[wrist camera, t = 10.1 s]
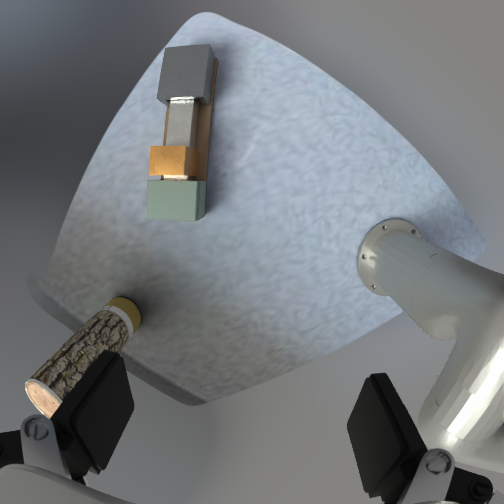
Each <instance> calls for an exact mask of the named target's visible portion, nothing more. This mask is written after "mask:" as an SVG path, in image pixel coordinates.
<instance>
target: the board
mask: <svg viewBox="0 0 504 504" xmlns="http://www.w3.org/2000/svg"><path fill="white" fill-rule="evenodd" d="M217 64H218V60H217V58H215V65H214V73H213V81H212V90H211V99H210V106H204V105H203V104H202V103H201V101H199V110H198V120H197V130H196V142H195V150H197V151H199V156H198V171H197V176H193V181H206V183H207V168H208V154H209V141H210V130H211V119H212V109H213V99H214V90H215V81H216V73H217ZM169 110H170V107H168V106H167V112H166V121H165V130H164V141H163V146H166V139H167V128H168V119H169ZM161 180H164V175H161ZM205 200H206V196H205Z"/></svg>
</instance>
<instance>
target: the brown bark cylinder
mask: <svg viewBox="0 0 504 504" xmlns="http://www.w3.org/2000/svg"><path fill="white" fill-rule="evenodd" d="M140 322H141V316H140V313H139V310H138V308H137V307H136V305H135V304H134V303H133V302H131V301H130V300H128V299H126V298H122V297H117V298H114V299H112V300H111V301H110V302H109V303H108V304H107V305H105V306H104V307H103V308H102V309H101V310H100V311H99V312H98V313H96V314H95V315H94V316H93V317H92V318H91V319H90V320H89V321H88V322H87V323H86V324H84V325H83V326H82V327H81V328H80V329H79V330H78V331H77V332H76V333H75V334H74V335H73V336H72V337H71V338H70V339H69V340H68V341H67V342H66V343H65V344H63V346H61V347H60V348H59V349H58V350H57V351H56V352H55V354H53V355H52V356H51V357H50V358H49V359H48V360H47V361H46V362H45V363H44V364H43V365H42V366H41V367H40V368H39V369H38V370H37V371H36V372H35V373H34V374H33V376H32V377H31V378H30V379H29V380H28V381H27V382H26V384H25V389H26V392H27V394H28V396H29V398H30V400H31V401H32V402H33V404H34V405H35V406H36V407H37V408H38V410H39V411H40V412H42V413H43V414H44V415H45V416H46V417H48V418H49V419H50V418H51V416H52V415H53V414H54V412H55V411H56V410H57V408H58V407H59V406H60V404H61V403H62V402H63V400H64V399H65V398H66V396H67V395H68V394H69V393H70V391H71V390H72V389H73V387H74V386H75V385H76V384H77V382H78V381H79V380H80V379H81V378H82V376H83V375H84V374H85V373H86V371H87V370H88V369H89V368H90V366H91V365H92V364H93V363H94V362H95V360H96V359H97V358H98V357H99V355H100V354H101V353H102V352H103V351H104V350H109V351H113V352H117V353H119V352H120V351H121V350H122V348H123V347H124V346H125V344H126V343H127V342H128V340H129V339H130V338H131V336H132V335H133V333H134V332H135V331H136V329H137V328H138V327H139V325H140Z"/></svg>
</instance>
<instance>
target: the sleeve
mask: <svg viewBox="0 0 504 504" xmlns="http://www.w3.org/2000/svg"><path fill="white" fill-rule="evenodd" d="M214 65H215V56H214V53H213V51H212V49H211V46H210V45H191V46H178V47H168V48H165V52H164V57H163V63H162V69H161V74H160V81H159V87H158V94H157V99H158V100H159V101H161V102H162V103H164V104H165V105H166V106H168V107H170V101H171V100H177V99H199V100H200V101H201V103H202V104H203V105H204V106H210V99H211V90H212V81H213V73H214Z"/></svg>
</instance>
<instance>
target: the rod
mask: <svg viewBox="0 0 504 504" xmlns="http://www.w3.org/2000/svg"><path fill="white" fill-rule="evenodd" d="M199 101H200V100H199V99H177V100H171V101H170V110H169V119H168V128H167V139H166V146H151V149H150V163H149V175H164V180H172V181H193V176H197V171H198V156H199V151H197V150H195V142H196V130H197V120H198V110H199Z"/></svg>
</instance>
